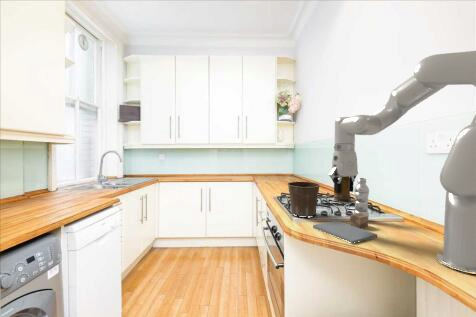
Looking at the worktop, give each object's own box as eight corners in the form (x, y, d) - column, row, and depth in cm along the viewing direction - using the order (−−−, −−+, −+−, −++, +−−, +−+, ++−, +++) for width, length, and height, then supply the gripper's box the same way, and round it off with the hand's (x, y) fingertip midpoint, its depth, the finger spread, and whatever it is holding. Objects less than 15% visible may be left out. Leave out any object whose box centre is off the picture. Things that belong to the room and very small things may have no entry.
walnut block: (367, 227, 109) (368, 216, 108) (359, 229, 106) (360, 217, 106) (357, 224, 113) (357, 213, 113) (350, 225, 111) (350, 214, 110)
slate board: (377, 237, 97) (377, 234, 97) (352, 244, 91) (352, 241, 90) (336, 222, 115) (336, 220, 115) (313, 227, 108) (313, 225, 108)
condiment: (338, 197, 107) (338, 169, 107) (358, 200, 101) (358, 171, 100) (329, 200, 103) (329, 171, 102) (349, 203, 96) (349, 173, 95)
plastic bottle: (353, 221, 116) (353, 179, 115) (353, 217, 122) (354, 177, 121) (368, 223, 113) (369, 179, 112) (368, 219, 119) (369, 178, 118)
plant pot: (326, 218, 122) (326, 185, 121) (296, 221, 118) (296, 187, 117) (309, 209, 138) (309, 180, 137) (282, 212, 134) (282, 182, 133)
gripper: (336, 148, 93) (335, 196, 94) (367, 147, 101) (366, 191, 102) (321, 148, 100) (321, 192, 101) (351, 147, 108) (350, 188, 109)
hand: (343, 191), depth 102 cm, fingers closed on condiment, 6 cm apart
